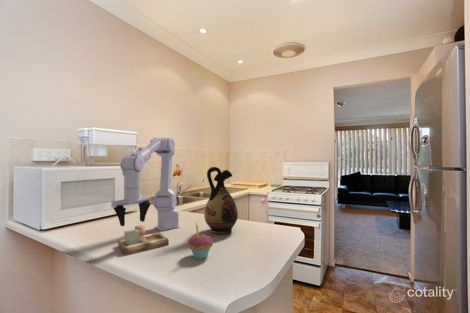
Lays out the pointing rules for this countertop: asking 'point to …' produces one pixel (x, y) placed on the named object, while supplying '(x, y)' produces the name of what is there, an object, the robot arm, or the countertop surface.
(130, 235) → the sage cube
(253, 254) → the countertop surface
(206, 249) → the cupcake
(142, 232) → the terracotta dowel
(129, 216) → the countertop surface
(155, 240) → the pocket board
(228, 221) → the ceramic jug
